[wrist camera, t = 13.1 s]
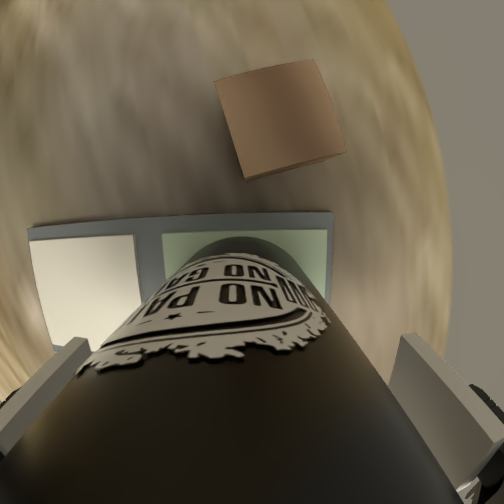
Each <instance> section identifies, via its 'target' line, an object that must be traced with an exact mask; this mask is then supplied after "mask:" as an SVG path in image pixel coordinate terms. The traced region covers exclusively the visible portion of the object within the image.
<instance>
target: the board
mask: <svg viewBox="0 0 504 504" xmlns="http://www.w3.org/2000/svg"><path fill="white" fill-rule="evenodd" d="M27 231H28V240H29V248H30V255H31V261H32V267H33V272H34V278H35V283H36V287H37V292H38V296H39V300H40V304H41V308H42V312H43V316H44V320H45V323H46V326H47V330H48V333H49V336H50V339H51V342H52V346H53V348H54V351H57V352H58V351H59V350H60V349H61V348H63V347H64V346H65V345H66V344H67V343H68V342H69V341H70V340H71V339H72V338H73V337H74V336H75V337H81V338H88V342H89V345H90V348H91V352H92V353H94V352H95V351H97V350H99V348H100V347H101V346H100V345H101V344H102V343H103V342H104V341H105V340H106V339H107V338H108V337H109V336H110V335H111V334H112V333H113V332H114V331H115V330H116V329H117V328H118V327H119V326H120V325H121V326H122V324H123V323H124V322H125V321H126V320H127V319H128V318H129V317H130V316H131V314H132V313H133V312H134V311H136V310H137V308H138V307H139V306H140V305H141V304H142V303H143V302H144V301H145V300H147V299H149V298H150V297H151V296H152V295H153V294H154V293H153V292H154V291H155V290H157V289H158V288H159V287H160V286H161V285H162V284H164V283H165V281H166V280H167V279H168V278H169V279H170V277H171V276H172V275H174V274H175V273H176V272H177V271H178V270H179V269H180V268H181V267H182V266H183V265H184V264H185V263H186V262H187V261H188V260H189V259H190V258H191V257H193V256H194V255H195V254H196V253H197V252H198V251H199V250H201V249H202V248H204V247H205V246H207V245H209V244H211V243H213V242H215V241H218V240H221V239H224V238H229V237H238V236H245V237H254V238H259V239H263V240H266V241H268V242H271V243H273V244H275V245H277V246H278V247H280V248H282V249H283V250H284V251H286V252H287V253H288V254H289V255H290V256H291V257H292V258H293V259H294V260H295V261H296V262H297V264H298V265H299V266H300V268H301V269H302V270H303V272H304V273H305V274H306V276H307V277H308V278H309V279H310V281H311V282H312V283H313V285H314V286H315V287H316V289H317V290H318V291H319V293H320V294H321V295H322V297H323V298H324V299H325V301H326V302H327V303H328V305H329V306H330V293H331V277H332V255H333V212H250V213H218V214H194V215H174V216H156V217H141V218H126V219H113V220H101V221H89V222H78V223H68V224H58V225H49V226H40V227H32V228H28V229H27ZM169 279H168V280H169ZM152 293H153V294H152ZM151 294H152V295H151ZM150 295H151V296H150ZM141 306H142V305H141ZM121 326H120V327H121ZM120 327H119V328H120ZM119 328H118V329H117V330H119ZM117 330H116V331H117ZM116 331H115V332H116ZM115 332H114V333H115Z"/></svg>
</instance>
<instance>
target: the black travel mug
mask: <svg viewBox="0 0 504 504" xmlns="http://www.w3.org/2000/svg"><path fill="white" fill-rule="evenodd" d="M168 279H169V278H168ZM168 279H167V280H166V281H165V283H164V284H162V285H161V286H160V287H159V288H158V289H157V290H155V291H154V292H153V293H154V294H153V293H152V294H153V295H152V294H151V295H152V296H151V295H150V296H151V297H150V298H149V299H147V300H145V301H144V302H143V303H142V304H141V305H142V306H141V305H140V306H139V307H138V308H137V310H136V311H134V312H133V313H132V314H131V316H130V317H129V318H128V319H127V320H126V321H125V322H124V323H123V324H122V326H121V325H120V326H121V327H120V326H119V327H120V328H119V327H118V328H119V330H117V329H118V328H117V329H116V330H117V331H116V330H115V331H116V332H115V331H114V332H115V333H114V332H113V333H112V334H111V335H110V336H109V337H108V338H107V339H106V340H105V341H104V342H103V343H102V344H101V345H100V346H101V347H100V348H99V350H97V351H95V352H94V353H92V354H91V356H90V357H89V358H88V359H87V360H86V361H85V362H84V363H83V364H82V365H81V366H80V367H79V368H78V369H77V370H76V371H75V372H74V373H75V374H74V373H73V374H74V377H73V378H72V379H71V380H70V381H69V383H68V384H67V385H66V386H65V387H64V388H63V389H62V390H61V391H60V393H59V394H58V395H57V396H56V397H55V398H54V399H53V400H52V402H51V403H50V404H49V405H48V406H47V407H46V408H45V409H44V411H43V412H42V413H41V414H40V415H39V416H38V418H37V419H36V420H35V421H34V422H33V423H32V425H31V426H30V427H29V428H28V429H27V430H26V432H25V433H24V434H23V435H22V436H21V438H20V439H19V440H18V441H17V443H16V444H15V445H14V446H13V447H12V449H11V450H10V451H9V452H8V454H7V455H6V456H5V457H4V459H3V460H2V461H1V462H0V504H464V503H463V501H462V500H461V498H460V496H459V495H458V493H457V491H456V490H455V488H454V486H453V485H452V483H451V482H450V480H449V478H448V477H447V475H446V474H445V472H444V470H443V469H442V467H441V466H440V464H439V463H438V461H437V459H436V458H435V456H434V455H433V453H432V452H431V450H430V449H429V447H428V446H427V444H426V443H425V441H424V439H423V438H422V436H421V435H420V433H419V432H418V430H417V429H416V427H415V426H414V424H413V423H412V421H411V420H410V418H409V417H408V416H407V414H406V413H405V411H404V410H403V408H402V407H401V405H400V404H399V402H398V401H397V399H396V398H395V397H394V395H393V394H392V392H391V391H390V389H389V388H388V386H387V385H386V384H385V382H384V381H383V379H382V378H381V376H380V375H379V374H378V372H377V371H376V369H375V368H374V367H373V365H372V364H371V362H370V361H369V359H368V358H367V357H366V355H365V354H364V353H363V351H362V350H361V348H360V347H359V346H358V344H357V343H356V341H355V340H354V339H353V337H352V336H351V335H350V333H349V332H348V330H347V329H346V328H345V326H344V325H343V324H342V322H341V321H340V320H339V318H338V317H337V315H336V314H335V313H334V311H333V310H332V309H331V307H330V306H329V305H328V303H327V302H326V301H325V299H324V298H323V297H322V295H321V294H320V293H319V291H318V290H317V289H316V287H315V286H314V285H313V283H312V282H311V281H310V279H309V278H308V277H307V276H306V274H305V273H304V272H303V270H302V269H301V268H300V266H299V265H298V264H297V262H296V261H295V260H294V259H293V258H292V257H291V256H290V255H289V254H288V253H287V252H286V251H284V250H283V249H282V248H280V247H278V246H277V245H275V244H273V243H271V242H268V241H266V240H263V239H259V238H254V237H245V236H238V237H229V238H224V239H221V240H218V241H215V242H213V243H211V244H209V245H207V246H205V247H204V248H202V249H201V250H199V251H198V252H197V253H196V254H195V255H194V256H193V257H191V258H190V259H189V260H188V261H187V262H186V263H185V264H184V265H183V266H182V267H181V268H180V269H179V270H178V271H177V272H176V273H175V274H174V275H172V276H171V277H170V279H169V280H168Z"/></svg>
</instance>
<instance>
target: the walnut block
mask: <svg viewBox="0 0 504 504" xmlns="http://www.w3.org/2000/svg"><path fill="white" fill-rule="evenodd" d="M214 83H215V86H216V89H217V92H218V96H219V99H220V102H221V105H222V108H223V111H224V114H225V118H226V121H227V124H228V127H229V130H230V133H231V137H232V140H233V143H234V146H235V150H236V153H237V156H238V159H239V162H240V166H241V169H242V172H243V176H244V178H245V180H246V181H247V182H248V181H251V180H254V179H258V178H261V177H265V176H268V175H272V174H275V173H279V172H283V171H286V170H290V169H294V168H298V167H302V166H305V165H309V164H313V163H317V162H321V161H324V160H327V159H329V158H332V157H334V156H337V155H339V154H342V153H344V152H347V148H346V145H345V142H344V138H343V135H342V132H341V129H340V126H339V123H338V120H337V117H336V114H335V111H334V109H333V106H332V103H331V100H330V98H329V95H328V92H327V90H326V87H325V85H324V82H323V79H322V77H321V74H320V72H319V70H318V67H317V65H316V62H315V60H314V59H311V60H304V61H298V62H292V63H287V64H281V65H276V66H272V67H267V68H262V69H258V70H254V71H250V72H246V73H242V74H238V75H235V76H231V77H227V78H224V79H221V80H217V81H214Z"/></svg>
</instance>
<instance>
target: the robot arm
mask: <svg viewBox="0 0 504 504" xmlns="http://www.w3.org/2000/svg"><path fill="white" fill-rule="evenodd" d="M91 354H92V352H91V348H90V345H89V342H88V338H81V337H75V336H74V337H73V338H72V339H71V340H70V341H69V342H68V343H67V344H66V345H65V346H64V347H63V348H61V349H60V350H59V351H58V352H57V353H56V354H55V355H54V356H53V357H52V358H51V359H50V360H49V361H48V362H47V363H46V364H45V365H44V366H42V367H41V368H40V369H39V370H38V371H37V372H36V373H35V374H34V375H33V376H32V377H31V378H30V379H29V380H28V381H27V382H26V383H25V384H24V385H23V386H22V387H20V388H19V389H17V390H15V391H13V392H12V393H11V394H10V395H9V396H8V397H7V398H6V401H3V402H2V403H1V404H0V462H1V461H2V460H3V459H4V457H5V456H6V455H7V454H8V452H9V451H10V450H11V449H12V447H13V446H14V445H15V444H16V443H17V441H18V440H19V439H20V438H21V436H22V435H23V434H24V433H25V432H26V430H27V429H28V428H29V427H30V426H31V425H32V423H33V422H34V421H35V420H36V419H37V418H38V416H39V415H40V414H41V413H42V412H43V411H44V409H45V408H46V407H47V406H48V405H49V404H50V403H51V402H52V400H53V399H54V398H55V397H56V396H57V395H58V394H59V393H60V391H61V390H62V389H63V388H64V387H65V386H66V385H67V384H68V383H69V381H70V380H71V379H72V378H73V377H74V374H75V373H74V372H75V371H76V370H77V369H78V368H79V367H80V366H81V365H82V364H83V363H84V362H85V361H86V360H87V359H88V358H89V357H90V356H91ZM73 373H74V374H73ZM388 387H389V388H390V390H391V392H392V393H393V395H394V396H395V398H396V399H397V401H398V402H399V404H400V405H401V407H402V408H403V410H404V411H405V413H406V414H407V416H408V417H409V418H410V420H411V421H412V423H413V424H414V426H415V427H416V429H417V430H418V432H419V433H420V435H421V436H422V438H423V439H424V441H425V443H426V444H427V446H428V447H429V449H430V450H431V452H432V453H433V455H434V456H435V458H436V459H437V461H438V463H439V464H440V466H441V467H442V469H443V470H444V472H445V474H446V475H447V477H448V478H449V480H450V482H451V483H452V485H453V486H454V488H455V490H456V491H457V492H458V491H460V490H462V489H464V488H465V487H467V486H469V484H470V483H471V482H472V481H473V480H474V479H475V478H476V477H478V478H479V480H480V481H479V482H478V483H477V484H476V485H475V486H474V487H473V488H472V489H471V490H470V491H469V493H468V494H467V495H466V497H465V499H467V498H469V497H470V496H471V495H472V494H473V493H474V495H473V497H472V498H471V499H473V500H472V504H504V412H503V411H502V410H501V409H500V408H499V407H498V406H496V404H495V403H494V401H493V400H490V397H489V396H488V395H487V394H486V393H485V392H484V391H483V390H482V389H480V388H478V387H477V386H474V385H473V384H471V385H467V384H466V383H465V381H464V380H463V379H462V378H461V377H460V376H459V375H458V374H457V373H456V372H455V371H454V370H453V369H452V368H451V367H450V366H449V365H448V364H447V363H446V362H445V361H444V360H443V359H442V358H441V357H440V356H439V355H438V354H437V353H436V352H435V351H434V350H433V349H432V348H431V347H430V346H429V345H428V344H427V343H426V342H425V341H424V340H423V339H422V338H421V337H420V336H419V335H418V334H417V333H410V334H404V335H401V338H400V343H399V347H398V351H397V356H396V360H395V364H394V367H393V371H392V375H391V378H390V382H389V385H388Z"/></svg>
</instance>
